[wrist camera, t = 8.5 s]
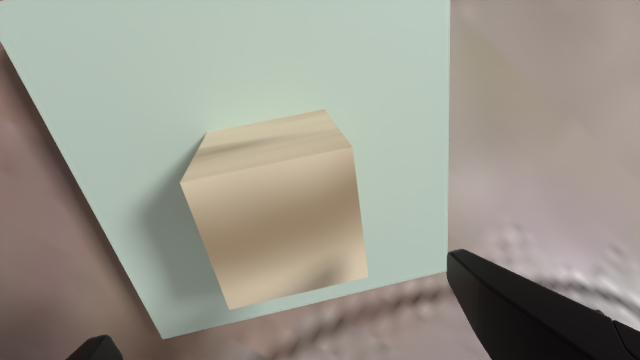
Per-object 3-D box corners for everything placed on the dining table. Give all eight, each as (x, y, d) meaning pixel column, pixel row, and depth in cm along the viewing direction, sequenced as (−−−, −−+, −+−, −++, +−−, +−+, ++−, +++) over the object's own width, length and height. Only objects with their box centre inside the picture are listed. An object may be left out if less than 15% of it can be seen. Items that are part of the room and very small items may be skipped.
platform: (426, 243, 24) (447, 270, 21) (174, 302, 23) (162, 339, 20) (419, -57, 16) (451, -74, 13) (32, 8, 15) (-20, 4, 12)
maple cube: (339, 208, 18) (368, 276, 13) (239, 230, 18) (229, 310, 13) (324, 108, 16) (352, 146, 11) (207, 132, 15) (179, 182, 10)
